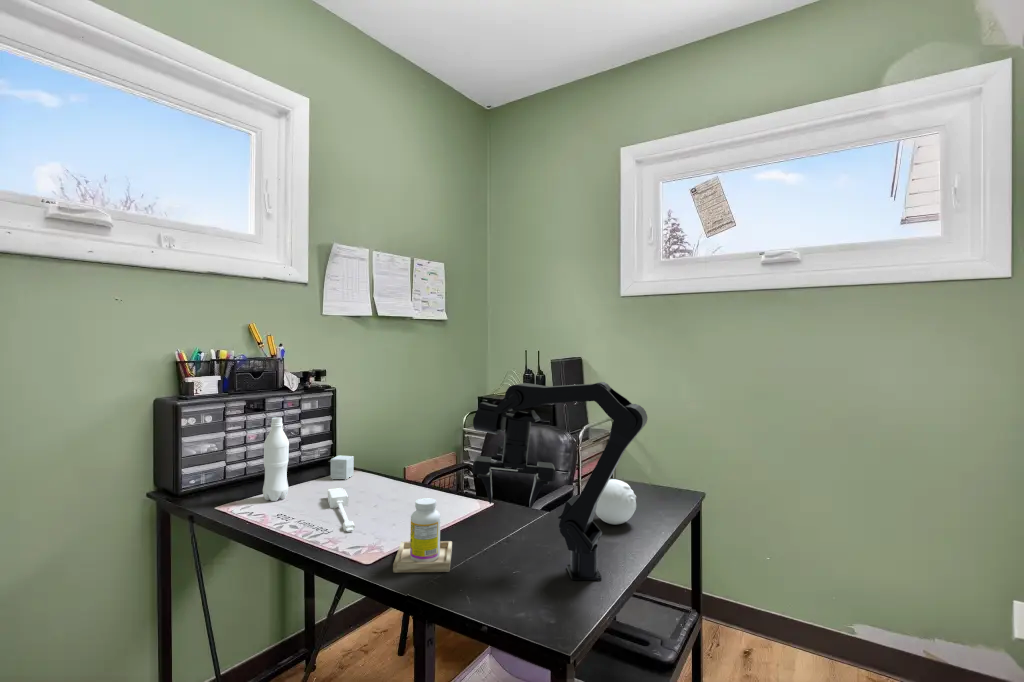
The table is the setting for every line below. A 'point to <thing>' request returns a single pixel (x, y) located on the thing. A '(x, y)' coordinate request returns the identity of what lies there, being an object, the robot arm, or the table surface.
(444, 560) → the tray
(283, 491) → the water bottle
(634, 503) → the decorative ball
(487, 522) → the table surface
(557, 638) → the table surface
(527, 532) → the table surface
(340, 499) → the white toy mallet
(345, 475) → the product box
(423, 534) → the supplement bottle
